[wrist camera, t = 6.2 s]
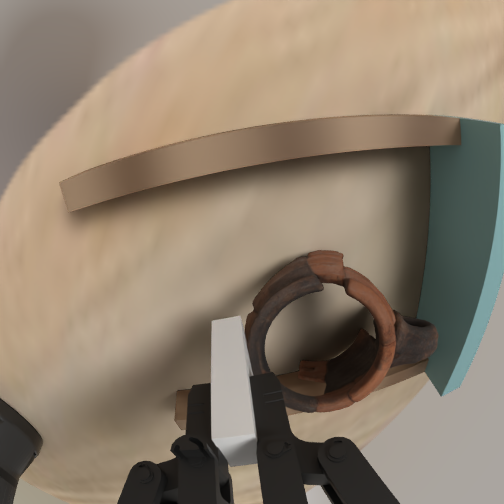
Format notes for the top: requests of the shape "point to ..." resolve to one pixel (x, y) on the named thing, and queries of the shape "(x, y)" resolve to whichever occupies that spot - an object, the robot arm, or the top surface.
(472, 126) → the end stop
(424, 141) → the channel
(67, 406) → the top surface
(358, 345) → the pottery mug
